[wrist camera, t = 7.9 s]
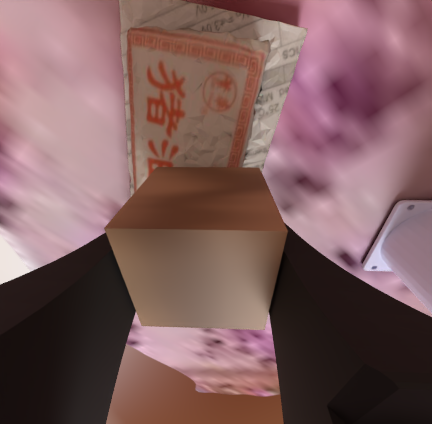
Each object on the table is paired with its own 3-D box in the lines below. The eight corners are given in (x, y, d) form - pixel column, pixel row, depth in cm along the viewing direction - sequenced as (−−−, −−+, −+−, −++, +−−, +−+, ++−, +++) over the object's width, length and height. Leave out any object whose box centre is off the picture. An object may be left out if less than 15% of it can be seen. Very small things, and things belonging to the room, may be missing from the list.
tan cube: (259, 167, 9) (288, 231, 5) (250, 245, 12) (264, 330, 8) (156, 166, 10) (104, 227, 5) (170, 244, 12) (141, 325, 8)
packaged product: (233, 295, 17) (115, 278, 16) (232, 254, 21) (137, 239, 20) (343, 1, 7) (65, -68, 7) (300, 33, 11) (126, -9, 11)
